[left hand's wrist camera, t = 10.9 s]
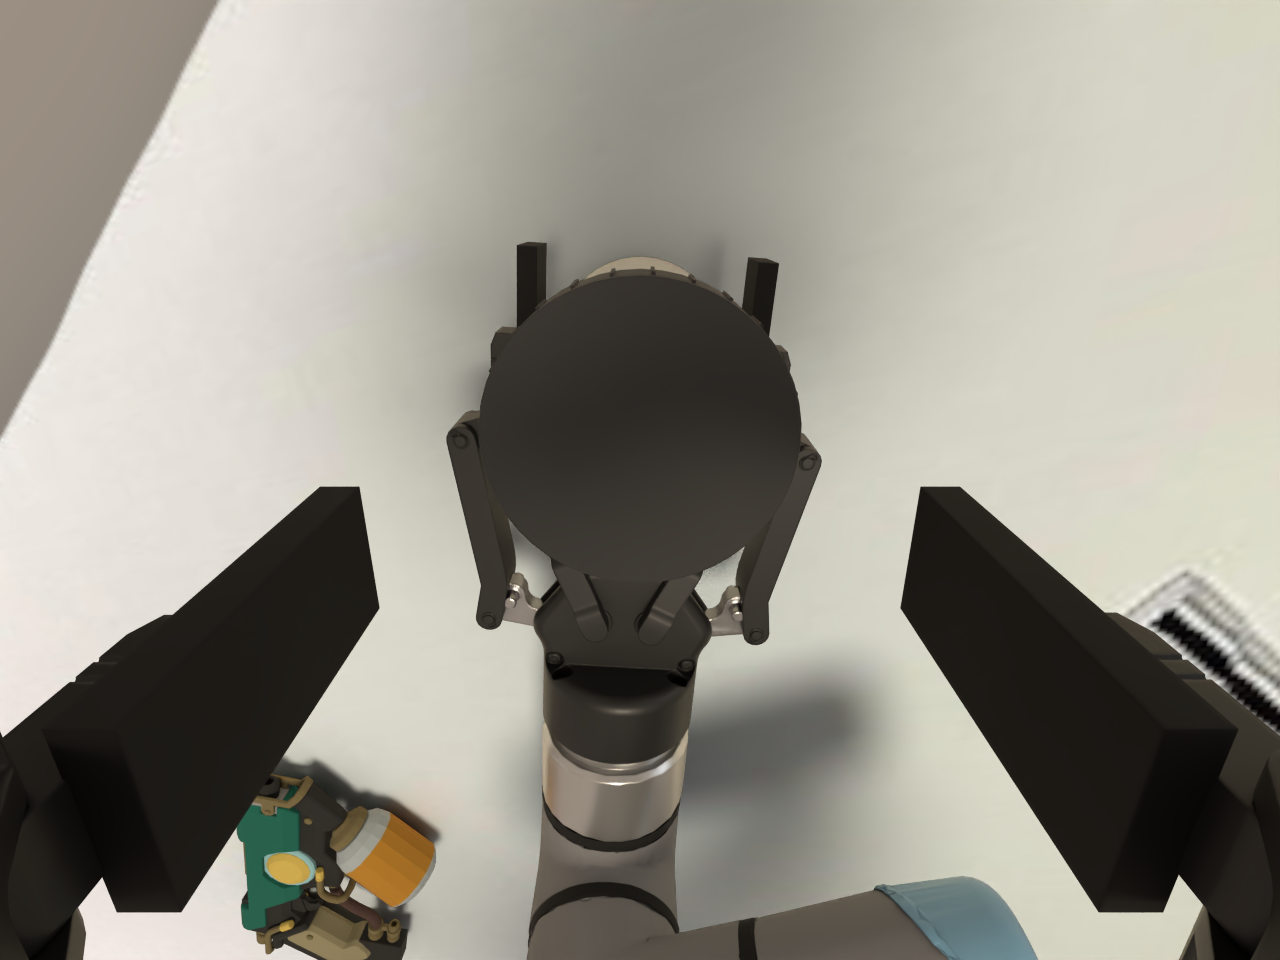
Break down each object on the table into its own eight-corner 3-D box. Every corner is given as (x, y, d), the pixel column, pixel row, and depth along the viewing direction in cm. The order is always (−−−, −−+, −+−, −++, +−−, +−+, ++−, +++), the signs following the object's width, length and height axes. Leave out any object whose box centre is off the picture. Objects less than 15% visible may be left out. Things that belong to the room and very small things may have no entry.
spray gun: (398, 952, 52) (208, 882, 50) (477, 821, 46) (263, 734, 44) (375, 1014, 48) (168, 941, 46) (458, 880, 42) (221, 788, 40)
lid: (671, 196, 19) (675, 194, 17) (843, 448, 22) (864, 473, 20) (429, 391, 21) (406, 411, 19) (614, 599, 24) (612, 636, 22)
